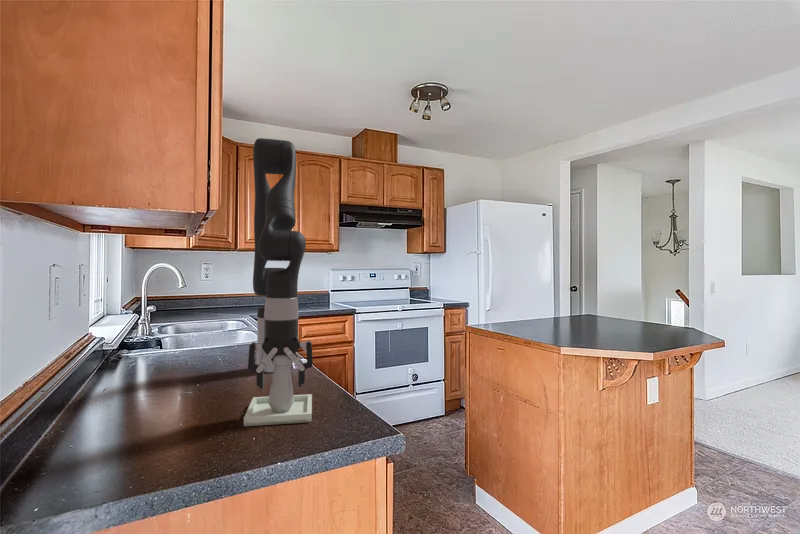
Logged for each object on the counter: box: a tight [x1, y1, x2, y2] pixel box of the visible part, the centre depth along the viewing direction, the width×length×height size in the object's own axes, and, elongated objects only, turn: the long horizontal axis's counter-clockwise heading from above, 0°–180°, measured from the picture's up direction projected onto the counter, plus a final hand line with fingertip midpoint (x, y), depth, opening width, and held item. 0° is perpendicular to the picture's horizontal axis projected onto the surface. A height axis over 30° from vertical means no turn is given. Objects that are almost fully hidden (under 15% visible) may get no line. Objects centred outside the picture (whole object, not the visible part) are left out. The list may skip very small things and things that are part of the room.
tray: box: [243, 393, 313, 427], centre depth 95 cm, size 14×14×2 cm
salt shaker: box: [268, 355, 295, 413], centre depth 95 cm, size 6×6×13 cm
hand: (280, 387), depth 95 cm, fingers open, 8 cm apart
